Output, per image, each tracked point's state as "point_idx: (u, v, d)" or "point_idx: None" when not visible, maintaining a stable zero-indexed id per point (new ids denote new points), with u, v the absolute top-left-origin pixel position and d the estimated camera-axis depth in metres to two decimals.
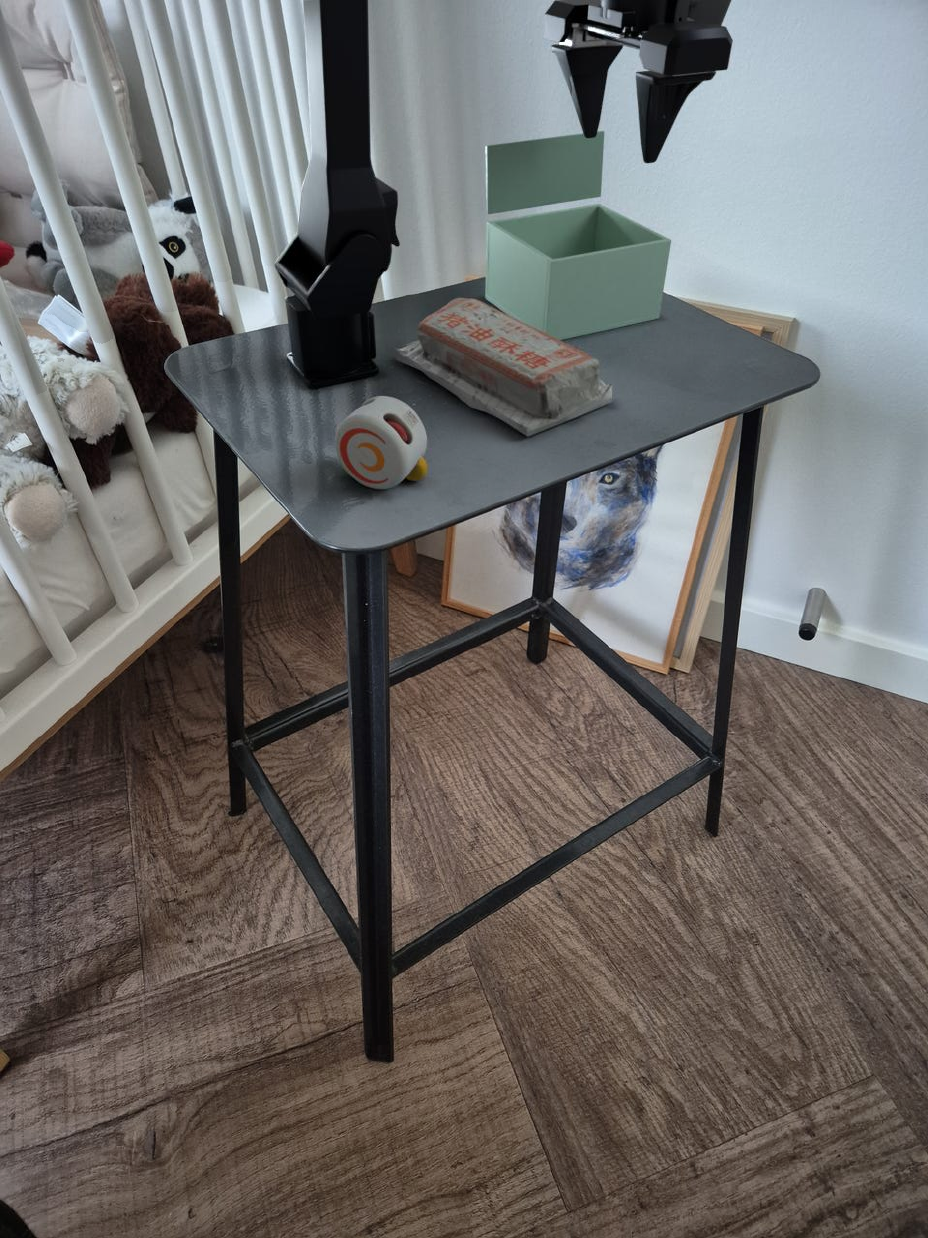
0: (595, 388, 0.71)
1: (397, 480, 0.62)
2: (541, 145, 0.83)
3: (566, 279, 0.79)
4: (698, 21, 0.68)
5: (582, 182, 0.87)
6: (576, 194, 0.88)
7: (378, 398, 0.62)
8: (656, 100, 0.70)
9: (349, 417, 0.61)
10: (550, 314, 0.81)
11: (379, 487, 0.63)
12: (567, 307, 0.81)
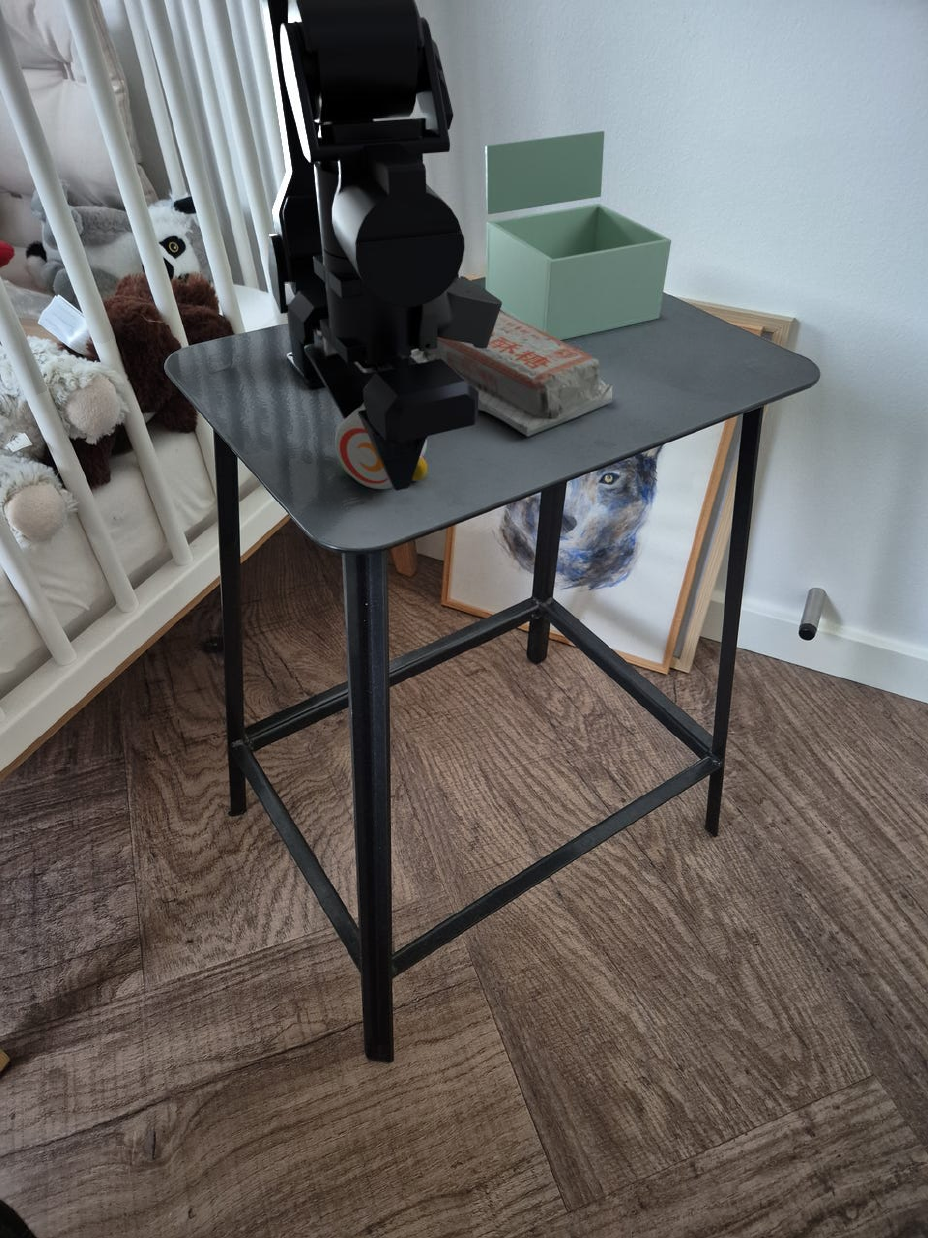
0: (595, 388, 0.71)
1: None
2: (541, 145, 0.83)
3: (566, 279, 0.79)
4: (439, 362, 0.54)
5: (582, 182, 0.87)
6: (576, 194, 0.88)
7: None
8: None
9: (349, 417, 0.61)
10: (550, 314, 0.81)
11: (379, 487, 0.63)
12: (567, 307, 0.81)
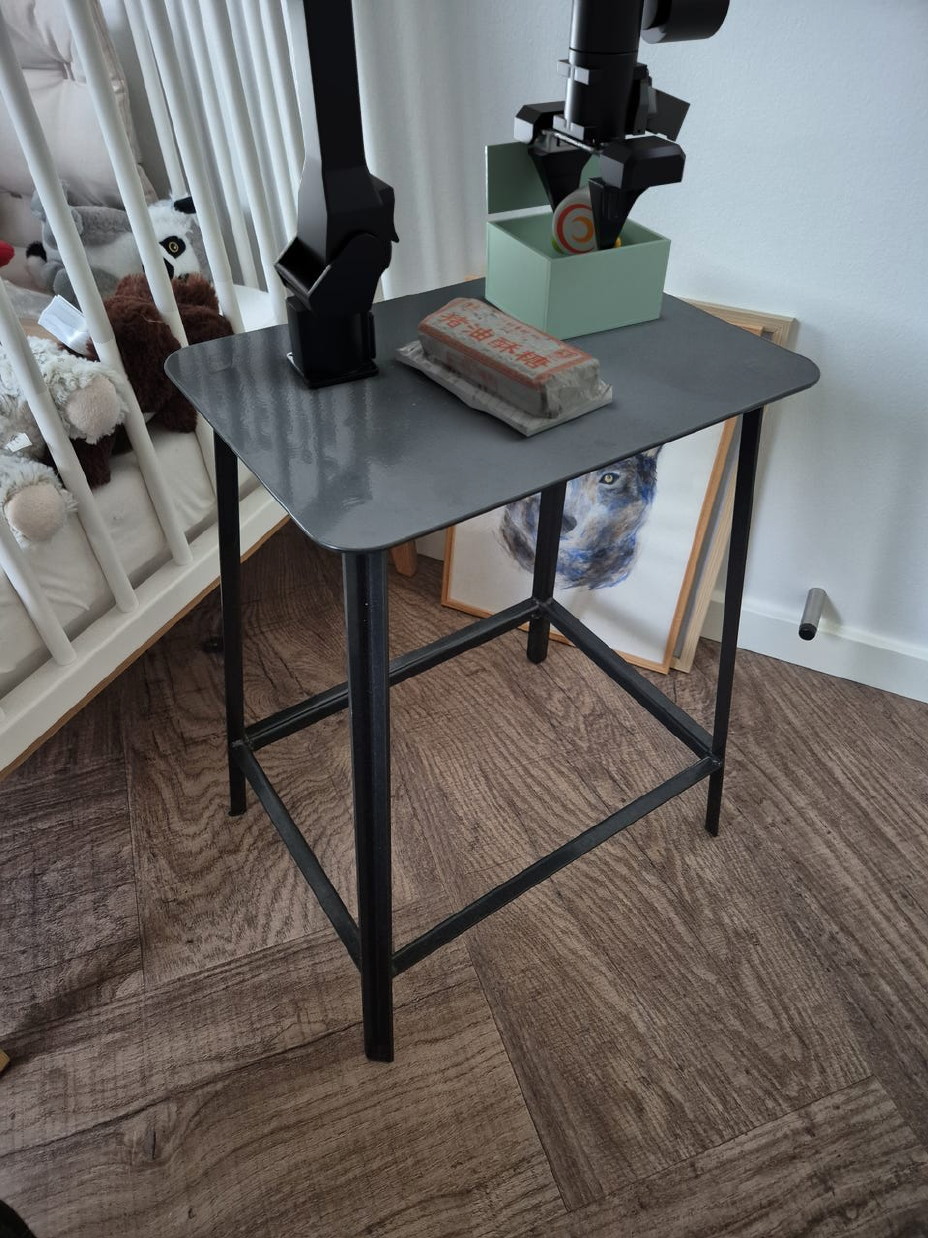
0: (595, 388, 0.71)
1: None
2: None
3: (566, 279, 0.79)
4: (654, 136, 0.73)
5: (582, 182, 0.87)
6: None
7: (587, 185, 0.81)
8: (608, 203, 0.76)
9: (568, 196, 0.80)
10: (550, 314, 0.81)
11: None
12: (567, 307, 0.81)
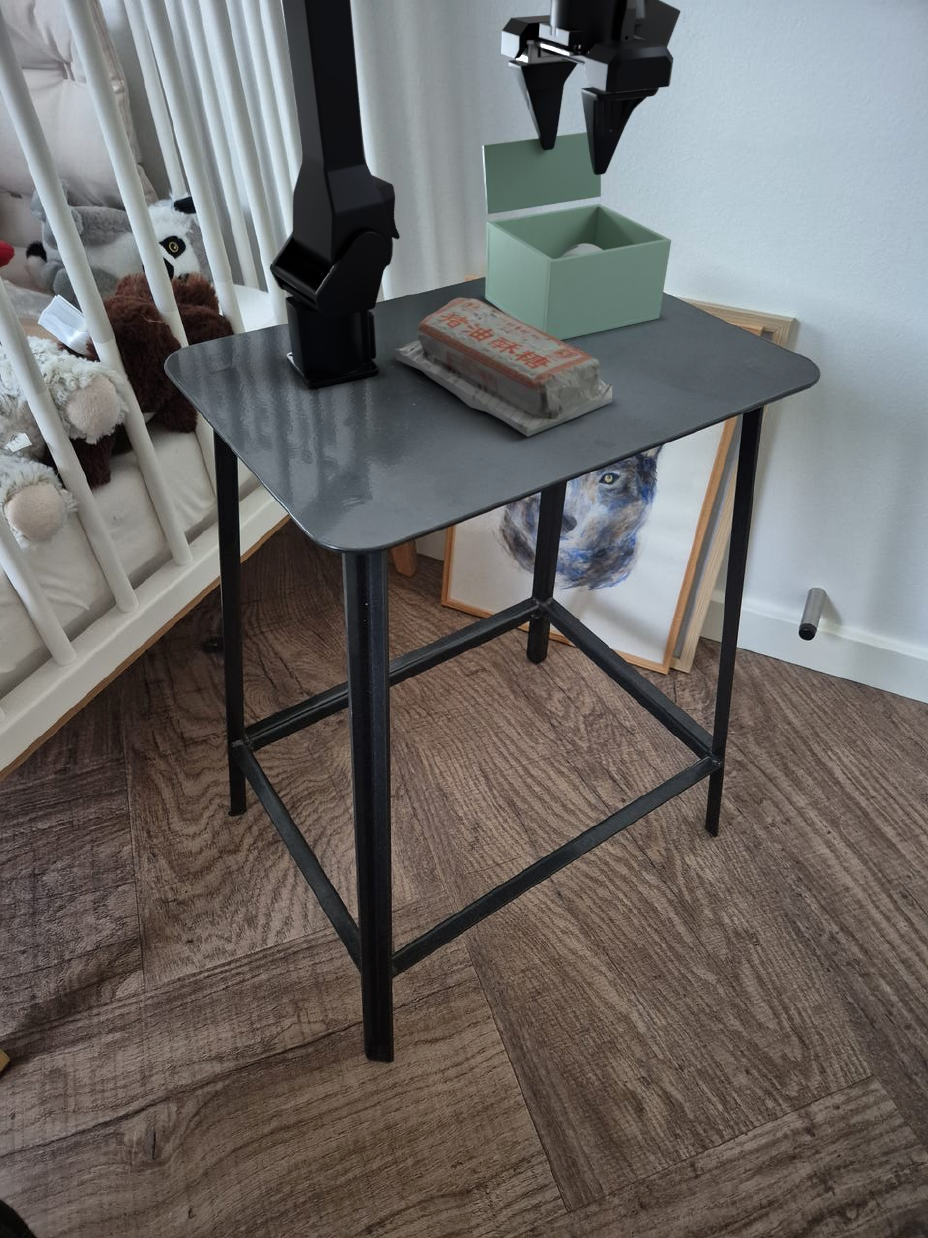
0: (595, 388, 0.71)
1: None
2: (538, 144, 0.84)
3: (566, 279, 0.79)
4: (641, 40, 0.71)
5: (581, 182, 0.88)
6: (576, 194, 0.88)
7: (581, 244, 0.84)
8: (601, 115, 0.73)
9: (563, 256, 0.83)
10: (550, 314, 0.81)
11: None
12: (567, 307, 0.81)
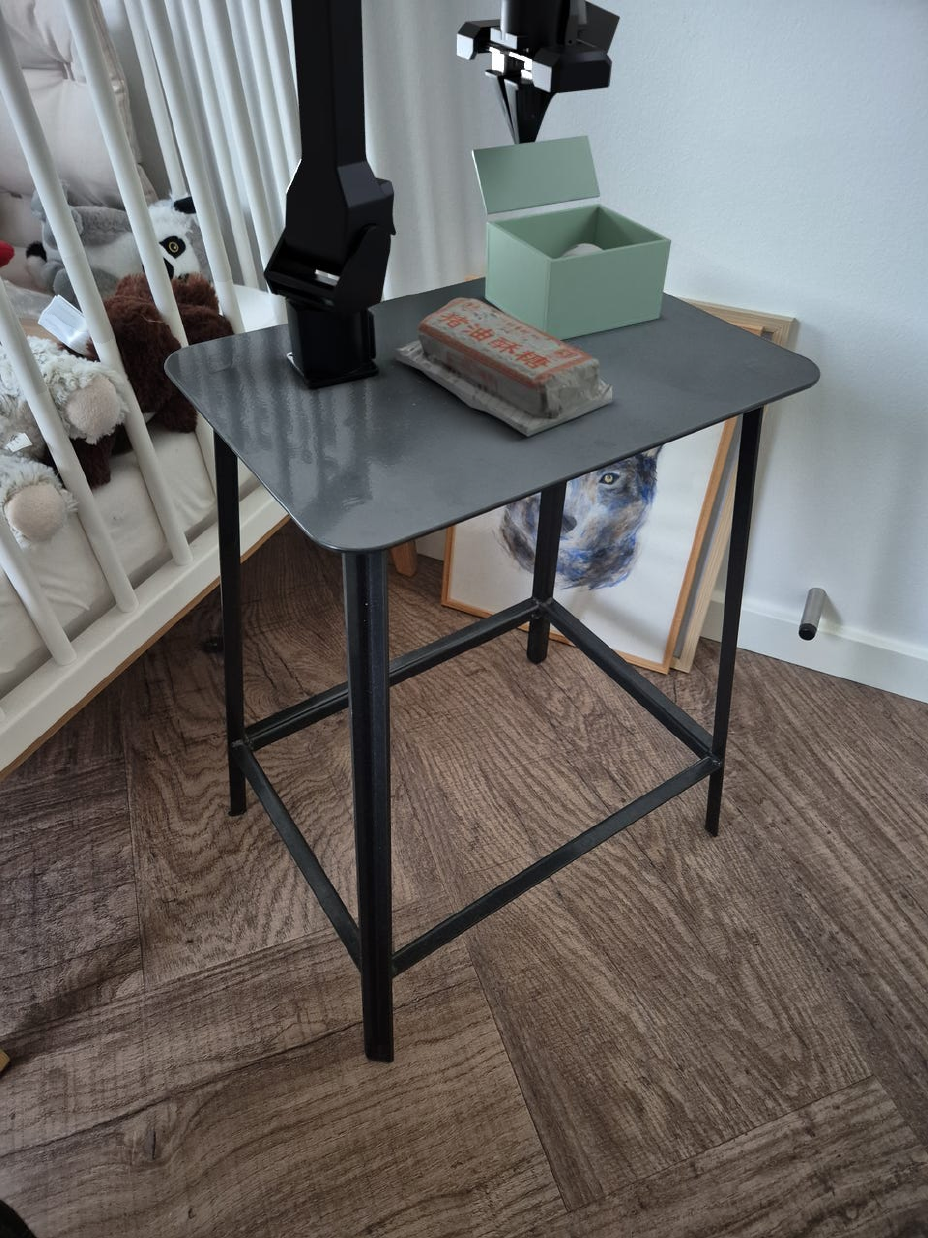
0: (595, 388, 0.71)
1: None
2: (527, 148, 0.86)
3: (566, 279, 0.79)
4: (583, 44, 0.78)
5: (577, 182, 0.88)
6: (574, 193, 0.88)
7: (581, 244, 0.84)
8: (523, 102, 0.83)
9: (563, 256, 0.83)
10: (550, 314, 0.81)
11: None
12: (567, 307, 0.81)
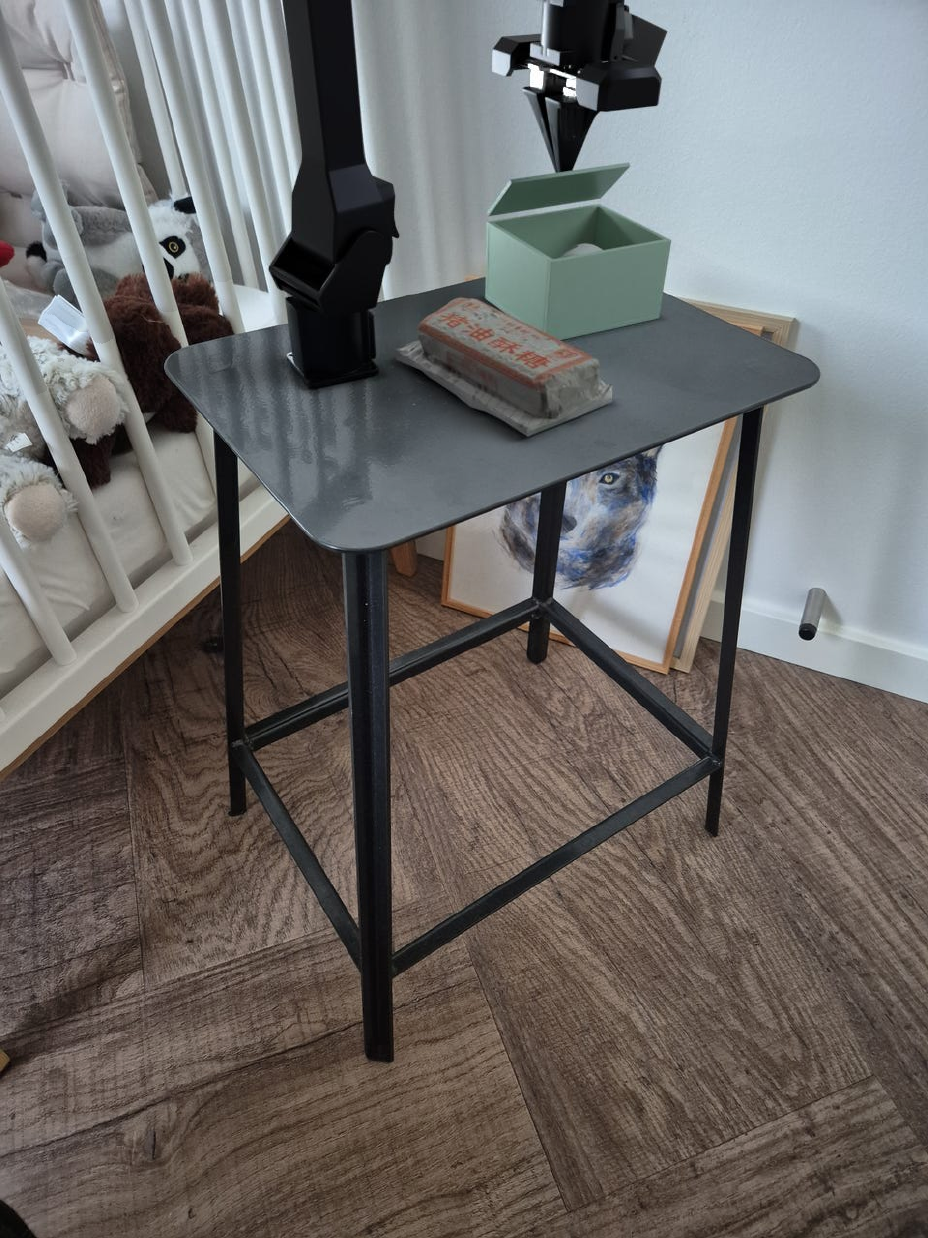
0: (595, 388, 0.71)
1: None
2: (564, 178, 0.82)
3: (566, 279, 0.79)
4: (630, 60, 0.73)
5: (588, 193, 0.87)
6: (578, 199, 0.88)
7: (581, 244, 0.84)
8: (565, 122, 0.78)
9: (563, 256, 0.83)
10: (550, 314, 0.81)
11: None
12: (567, 307, 0.81)
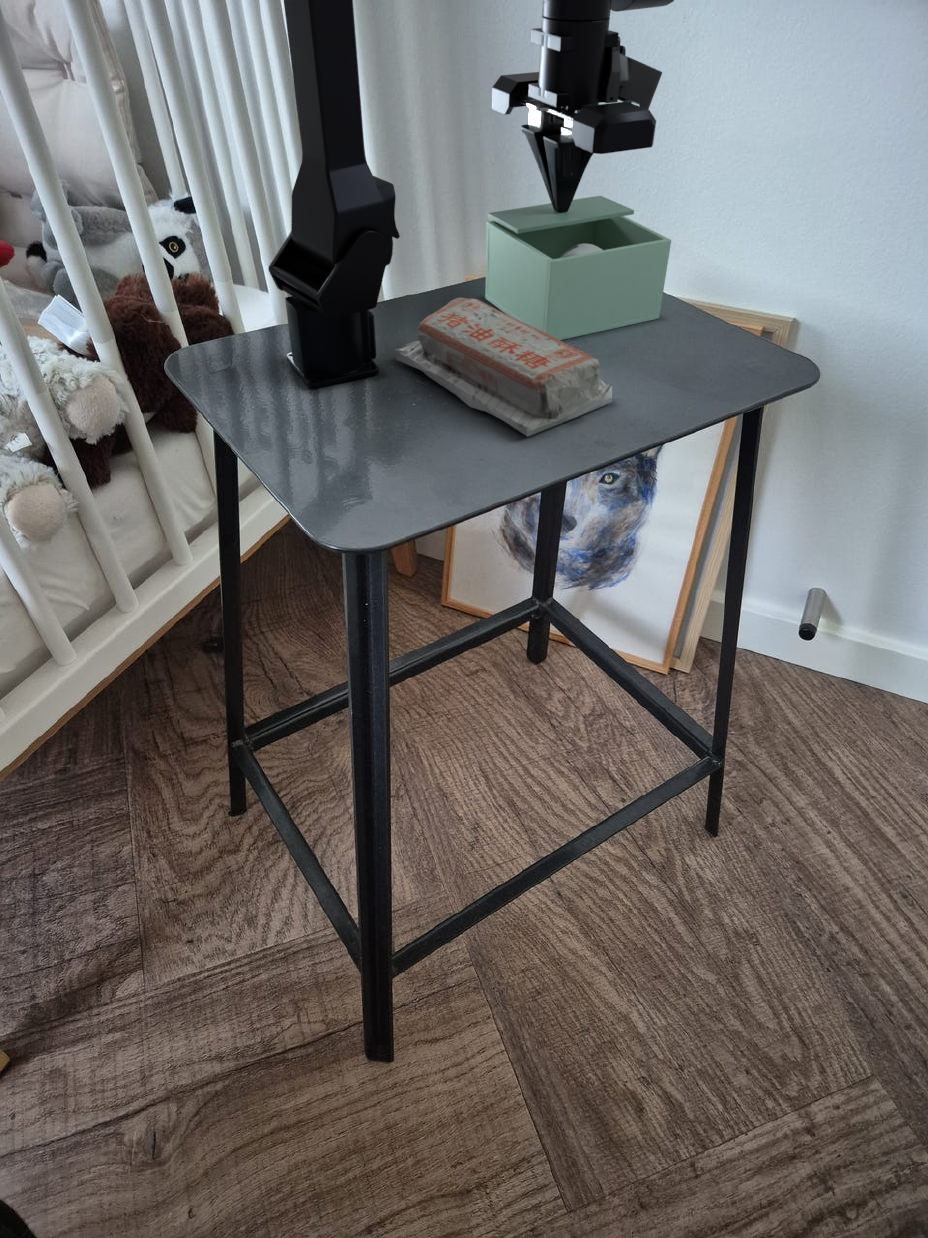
0: (595, 388, 0.71)
1: None
2: None
3: (566, 279, 0.79)
4: (625, 102, 0.75)
5: None
6: None
7: (581, 244, 0.84)
8: (562, 160, 0.80)
9: (563, 256, 0.83)
10: (550, 314, 0.81)
11: None
12: (567, 307, 0.81)
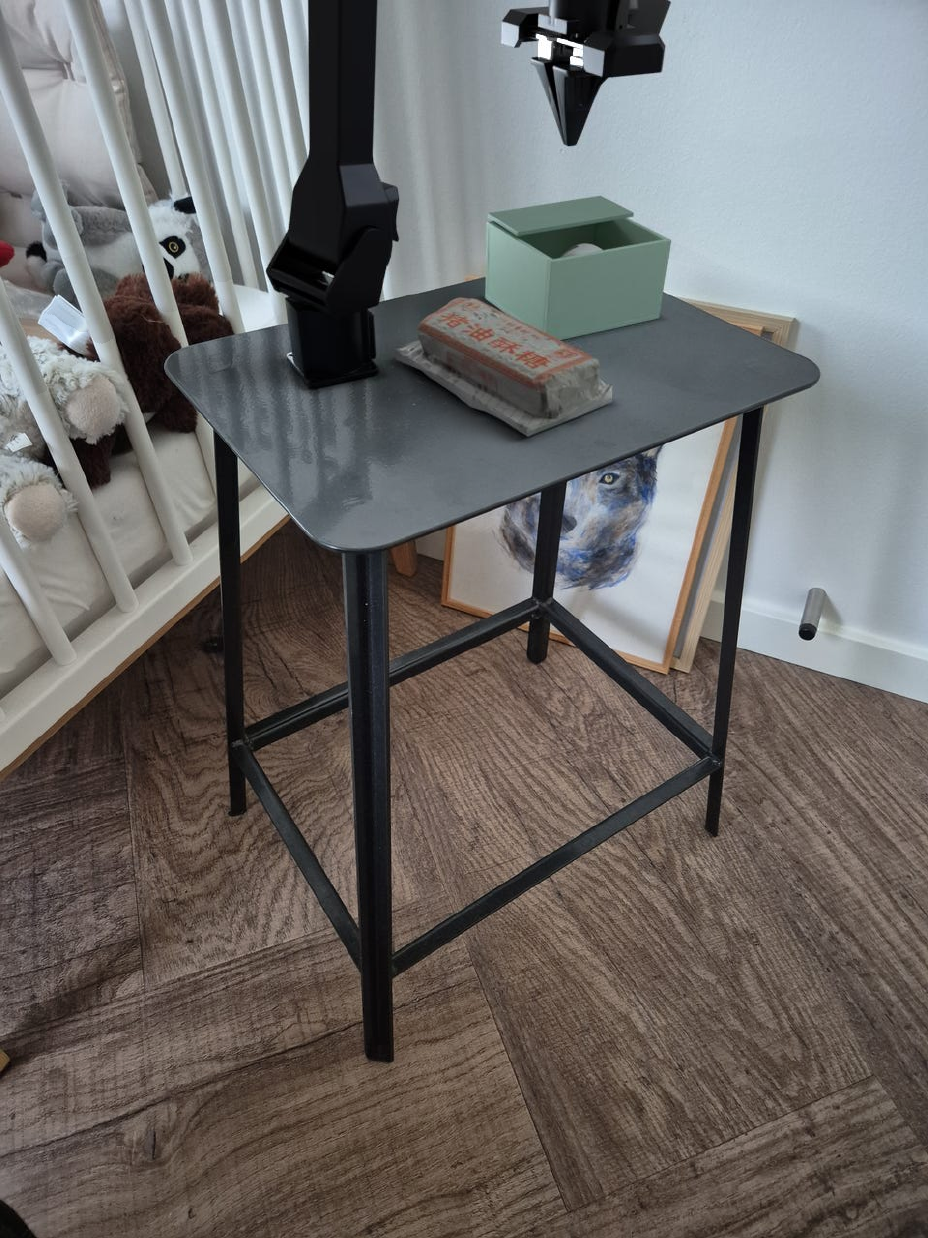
0: (595, 388, 0.71)
1: None
2: None
3: (566, 279, 0.79)
4: (635, 28, 0.76)
5: None
6: None
7: (581, 244, 0.84)
8: (572, 90, 0.80)
9: (563, 256, 0.83)
10: (550, 314, 0.81)
11: None
12: (567, 307, 0.81)
